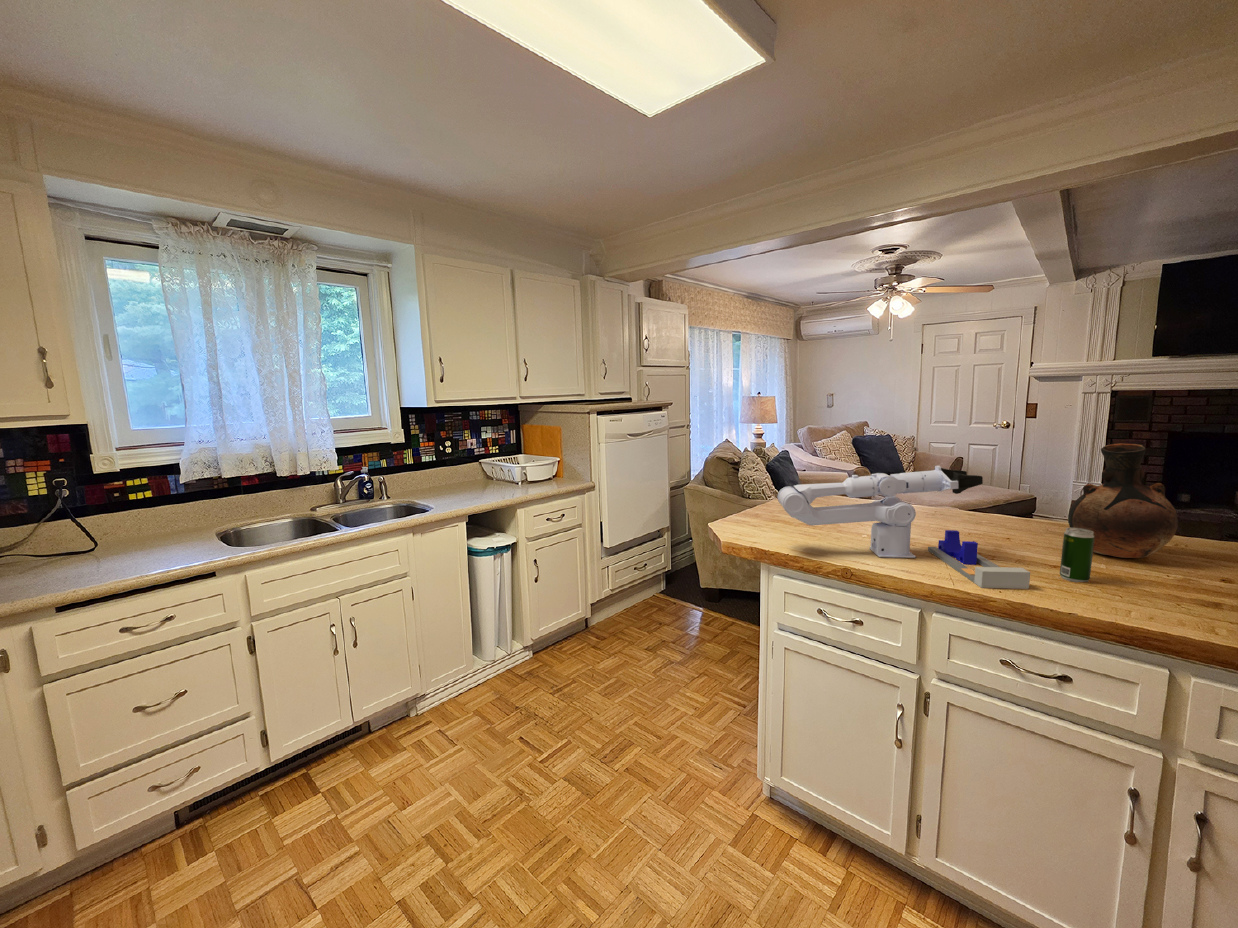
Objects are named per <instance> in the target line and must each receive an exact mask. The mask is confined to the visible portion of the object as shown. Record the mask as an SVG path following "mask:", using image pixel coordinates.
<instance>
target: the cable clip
mask: <svg viewBox="0 0 1238 928" xmlns="http://www.w3.org/2000/svg"><path fill="white" fill-rule="evenodd" d="M978 545H979V544H978V542H976V541H967V540H962V541H961V539H960V531H959V530H956V529H950V530H949V529H945V530H944V539H942V540H941V539H938V545H937V546H938V547H937V548H938V549H940V550H941V551H943V552H945V553H946V554H948V555H949V556H951V557H952V558H954V559H955V558H956V559H955V560H957V561H958V562H959V561H960V563H961V564H962V563H963V565H965V566H966V565H967V566H969V565H971V566H977V562H976V561H977V554H978V547H979V546H978Z"/></svg>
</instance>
